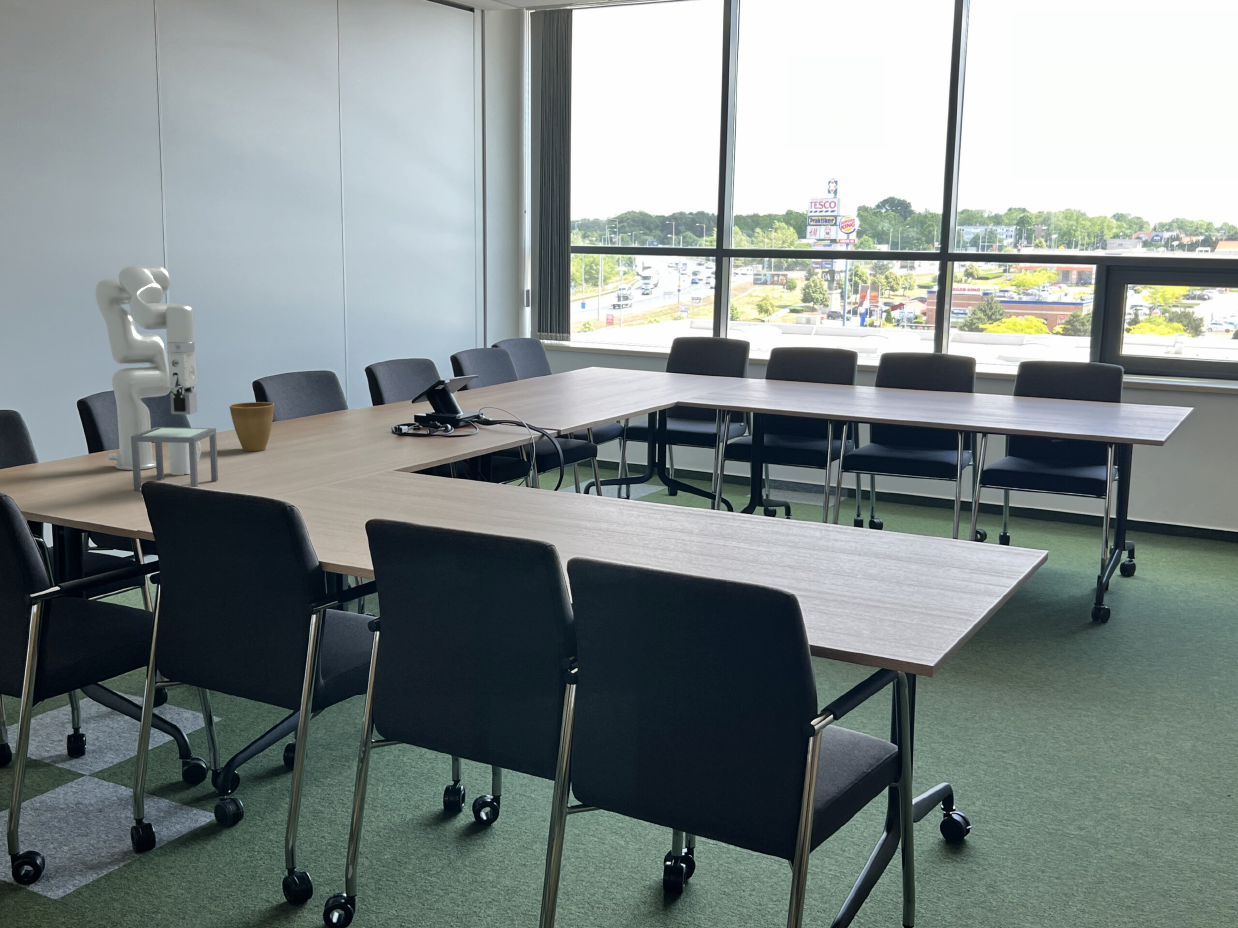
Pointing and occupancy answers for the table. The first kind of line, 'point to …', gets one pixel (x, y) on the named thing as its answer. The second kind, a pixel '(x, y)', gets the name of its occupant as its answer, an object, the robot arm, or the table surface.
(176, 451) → the mug
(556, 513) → the table surface
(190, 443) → the stand
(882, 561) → the table surface
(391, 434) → the table surface
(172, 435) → the trapdoor
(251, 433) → the plant pot
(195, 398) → the grey cube
